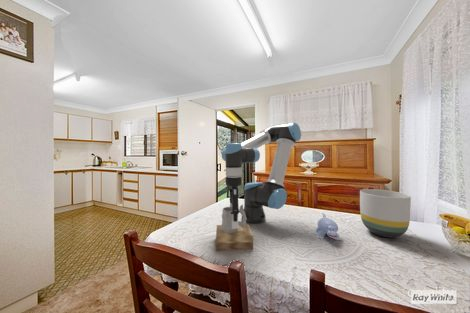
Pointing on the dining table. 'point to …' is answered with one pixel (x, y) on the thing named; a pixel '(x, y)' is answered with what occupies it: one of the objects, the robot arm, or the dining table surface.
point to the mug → (227, 219)
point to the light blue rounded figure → (327, 228)
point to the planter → (385, 212)
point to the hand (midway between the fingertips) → (233, 221)
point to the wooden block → (234, 239)
